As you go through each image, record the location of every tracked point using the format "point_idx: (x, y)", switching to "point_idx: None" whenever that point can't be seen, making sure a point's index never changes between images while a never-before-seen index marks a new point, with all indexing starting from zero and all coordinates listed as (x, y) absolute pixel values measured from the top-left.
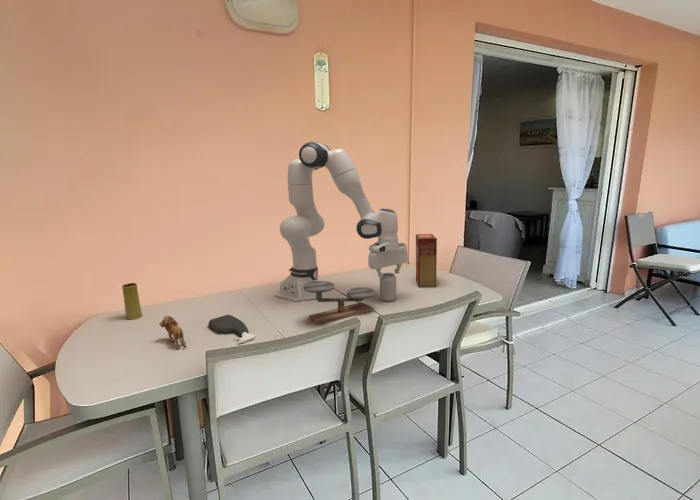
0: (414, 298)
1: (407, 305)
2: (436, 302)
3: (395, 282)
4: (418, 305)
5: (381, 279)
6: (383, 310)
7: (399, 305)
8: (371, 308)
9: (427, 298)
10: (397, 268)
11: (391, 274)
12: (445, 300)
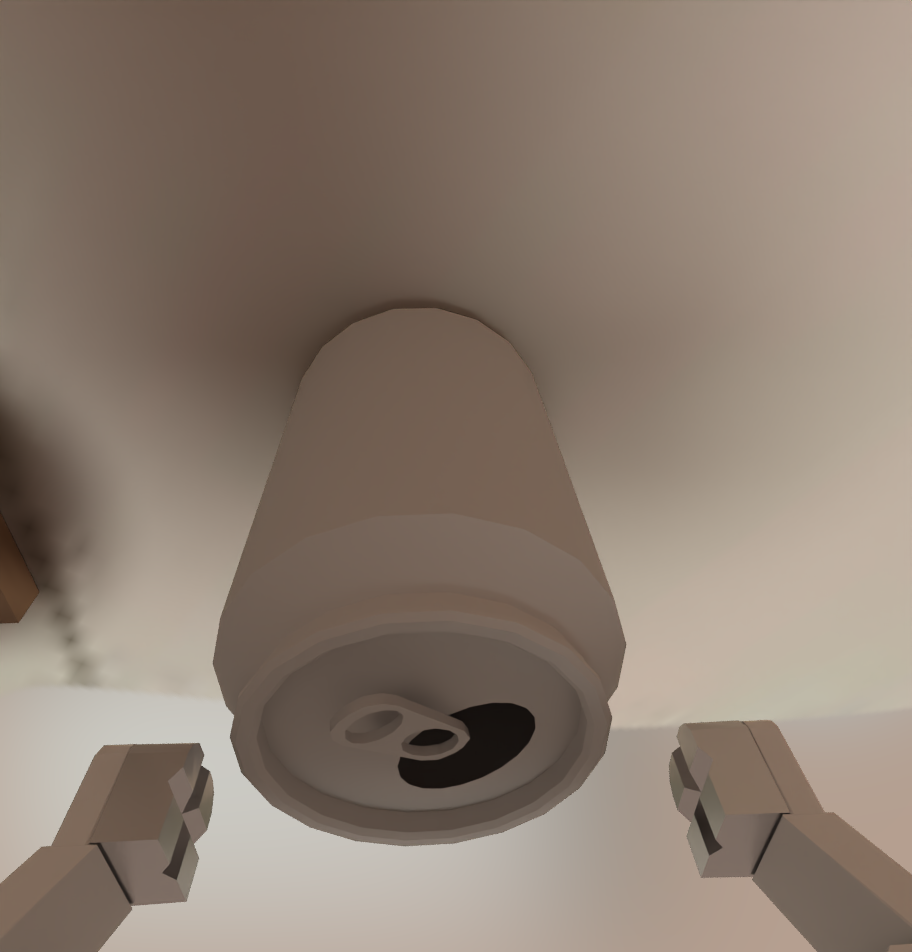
0: (701, 553)
1: None
2: (744, 712)
3: (494, 710)
4: None
5: (219, 681)
6: (167, 637)
7: None
8: (13, 612)
9: (795, 616)
10: (797, 873)
11: (571, 698)
12: (846, 714)
